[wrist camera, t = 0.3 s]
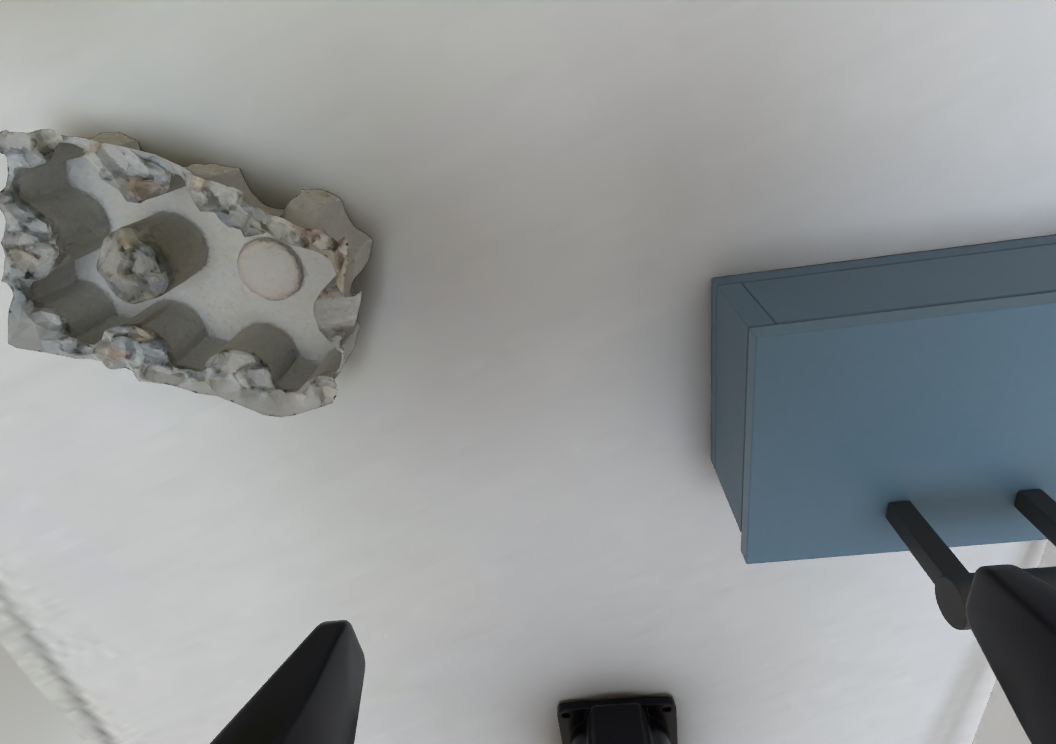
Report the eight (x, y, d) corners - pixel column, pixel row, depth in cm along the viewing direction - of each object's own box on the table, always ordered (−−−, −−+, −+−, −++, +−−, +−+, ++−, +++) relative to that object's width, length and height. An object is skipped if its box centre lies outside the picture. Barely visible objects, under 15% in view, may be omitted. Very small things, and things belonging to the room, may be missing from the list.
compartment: (1055, 425, 24) (1153, 496, 20) (710, 459, 25) (740, 532, 21) (1122, 225, 20) (1259, 266, 16) (711, 277, 21) (747, 326, 17)
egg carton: (392, 206, 20) (360, 239, 16) (352, 386, 24) (318, 446, 20) (62, 96, 19) (-52, 106, 15) (71, 305, 22) (-20, 354, 18)
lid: (1146, 515, 20) (1319, 647, 16) (740, 550, 21) (792, 682, 17) (1261, 266, 16) (1543, 349, 11) (748, 327, 17) (820, 424, 13)
